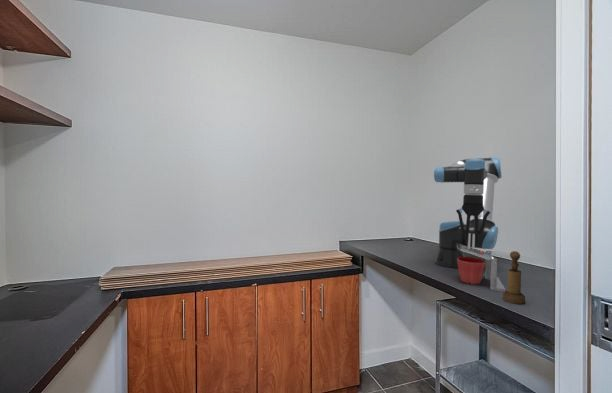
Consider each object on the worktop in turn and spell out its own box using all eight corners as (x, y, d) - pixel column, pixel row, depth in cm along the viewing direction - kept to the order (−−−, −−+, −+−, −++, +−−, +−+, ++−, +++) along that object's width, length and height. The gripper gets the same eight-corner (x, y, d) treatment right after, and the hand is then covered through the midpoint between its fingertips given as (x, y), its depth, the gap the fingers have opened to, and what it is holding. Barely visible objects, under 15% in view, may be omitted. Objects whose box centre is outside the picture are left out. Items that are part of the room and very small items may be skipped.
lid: (456, 245, 138) (457, 241, 138) (490, 256, 132) (491, 252, 132) (457, 250, 126) (458, 246, 126) (494, 262, 120) (496, 258, 120)
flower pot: (489, 286, 124) (489, 263, 123) (460, 284, 126) (461, 261, 126) (479, 278, 134) (480, 257, 134) (453, 277, 136) (454, 256, 136)
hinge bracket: (485, 277, 136) (485, 250, 136) (497, 279, 134) (498, 251, 133) (490, 290, 119) (491, 259, 118) (505, 292, 116) (506, 260, 116)
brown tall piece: (505, 302, 106) (506, 252, 105) (500, 296, 112) (501, 249, 111) (527, 305, 103) (529, 254, 103) (521, 298, 109) (522, 250, 109)
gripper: (455, 194, 128) (453, 248, 129) (493, 195, 122) (490, 251, 123) (455, 194, 135) (452, 245, 136) (490, 195, 129) (488, 249, 130)
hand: (470, 248), depth 129 cm, fingers closed
